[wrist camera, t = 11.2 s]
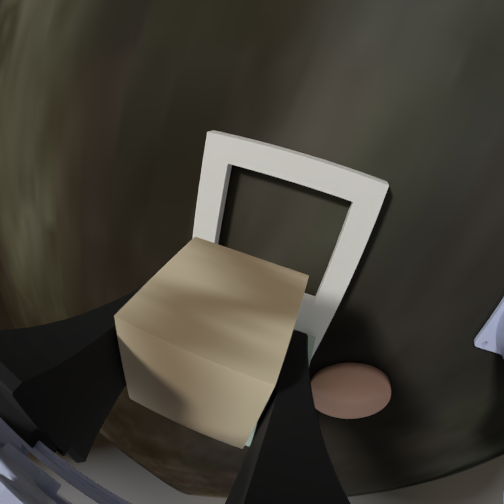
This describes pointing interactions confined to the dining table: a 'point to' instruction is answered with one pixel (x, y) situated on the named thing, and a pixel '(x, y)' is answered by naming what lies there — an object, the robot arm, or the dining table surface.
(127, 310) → the block
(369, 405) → the coaster
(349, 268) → the board
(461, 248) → the dining table surface
